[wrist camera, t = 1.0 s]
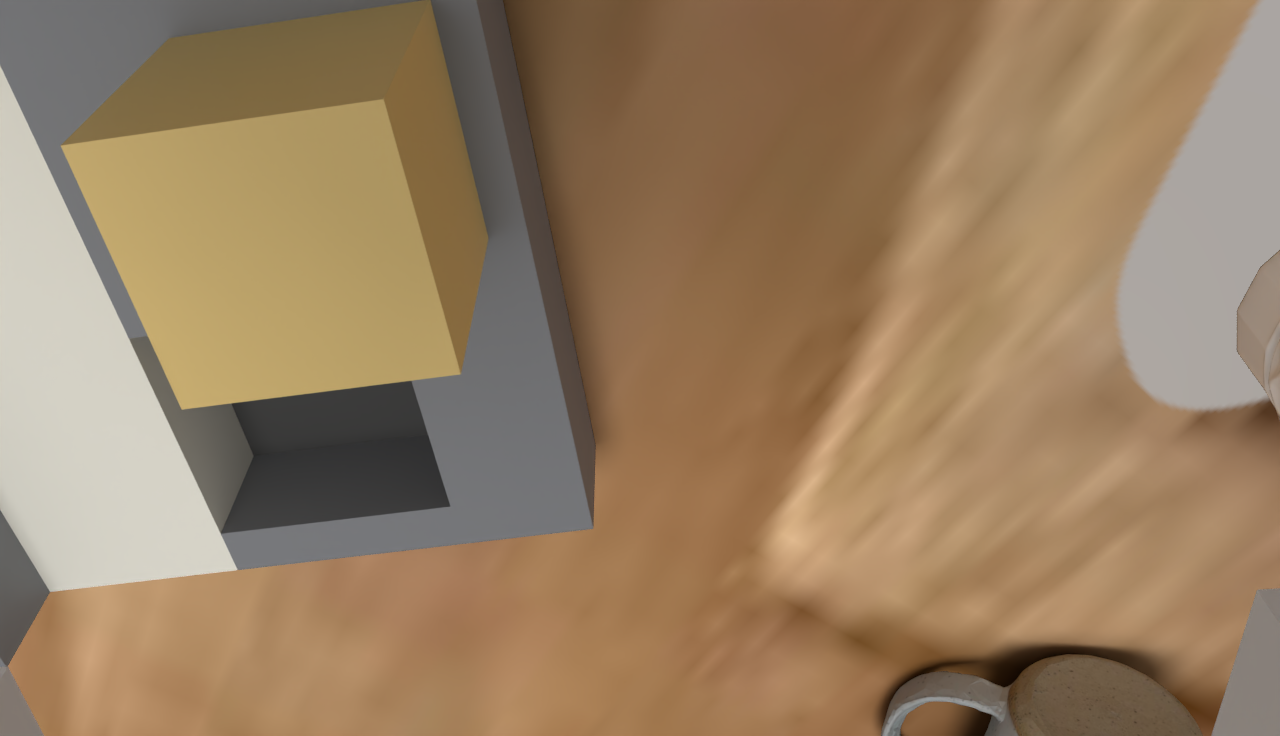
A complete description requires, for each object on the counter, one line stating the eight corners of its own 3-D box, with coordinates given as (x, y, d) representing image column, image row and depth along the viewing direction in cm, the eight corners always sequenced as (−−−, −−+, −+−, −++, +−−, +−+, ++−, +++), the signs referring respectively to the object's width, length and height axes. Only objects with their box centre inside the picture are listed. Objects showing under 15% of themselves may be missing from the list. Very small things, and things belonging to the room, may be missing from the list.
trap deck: (385, -566, 23) (304, -620, 17) (595, 445, 37) (591, 602, 32) (-447, -413, 24) (-785, -414, 18) (70, 509, 39) (-27, 671, 33)
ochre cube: (430, -1, 25) (383, 99, 20) (488, 238, 29) (460, 374, 24) (169, 38, 26) (60, 145, 21) (256, 269, 29) (181, 409, 24)
